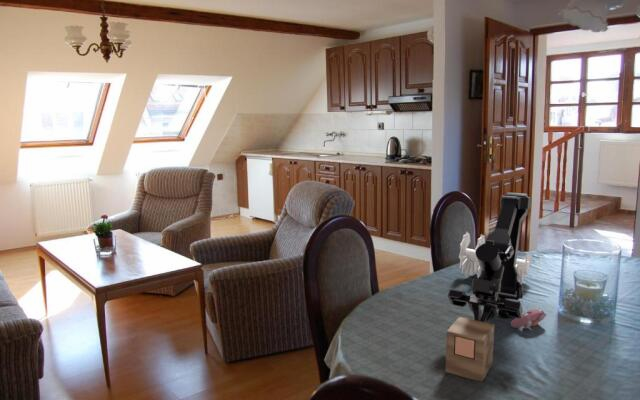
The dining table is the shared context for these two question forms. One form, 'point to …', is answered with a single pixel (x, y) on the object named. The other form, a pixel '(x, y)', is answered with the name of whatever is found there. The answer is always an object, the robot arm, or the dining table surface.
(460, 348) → the peg
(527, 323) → the pink rounded piece
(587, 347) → the dining table surface
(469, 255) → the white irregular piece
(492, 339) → the sleeve block
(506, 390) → the dining table surface
